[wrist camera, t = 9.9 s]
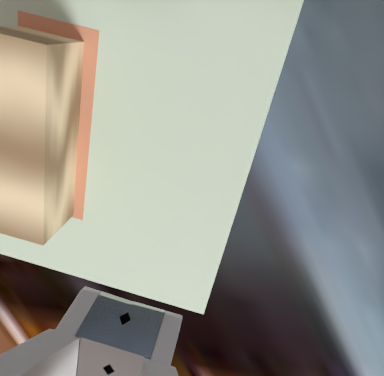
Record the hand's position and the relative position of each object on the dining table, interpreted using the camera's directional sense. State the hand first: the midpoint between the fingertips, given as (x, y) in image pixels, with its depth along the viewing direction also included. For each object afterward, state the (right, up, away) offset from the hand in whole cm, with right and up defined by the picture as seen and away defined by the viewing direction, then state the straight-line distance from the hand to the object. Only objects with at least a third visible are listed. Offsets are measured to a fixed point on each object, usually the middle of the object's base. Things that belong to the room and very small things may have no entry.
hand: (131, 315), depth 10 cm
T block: (-11, +9, +13) cm, 19 cm away
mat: (-7, +8, +13) cm, 17 cm away
